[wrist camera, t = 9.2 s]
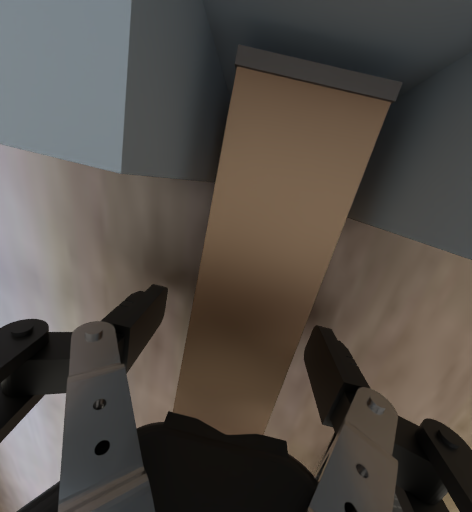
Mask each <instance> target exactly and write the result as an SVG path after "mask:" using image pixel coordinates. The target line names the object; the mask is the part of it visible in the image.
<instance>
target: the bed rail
mask: <svg viewBox="0 0 472 512" xmlns="http://www.w3.org/2000/svg"><path fill="white" fill-rule="evenodd" d="M235 69H236V74H235V80H234V85H233V90H232V96H231V101H230V107H229V112H228V117H227V123H226V128H225V133H224V139H223V144H222V150H221V155H220V160H219V166H218V171H217V177H216V182H215V187H214V193H213V198H212V203H211V209H210V214H209V220H208V225H207V230H206V236H205V241H204V247H203V252H202V257H201V263H200V268H199V273H198V279H197V284H196V290H195V295H194V300H193V306H192V311H191V317H190V322H189V327H188V333H187V338H186V343H185V349H184V354H183V360H182V365H181V370H180V376H179V381H178V386H177V392H176V397H175V403H174V408H173V413H177V414H181V415H185V416H189V417H193V418H197V419H199V420H201V421H203V422H204V423H206V424H208V425H210V426H211V427H213V428H215V429H217V430H218V431H220V432H222V433H224V434H226V435H239V434H260V435H263V434H264V432H265V429H266V426H267V424H268V421H269V419H270V416H271V413H272V411H273V408H274V406H275V403H276V400H277V398H278V395H279V393H280V390H281V387H282V385H283V382H284V380H285V377H286V374H287V372H288V369H289V367H290V364H291V361H292V359H293V356H294V354H295V351H296V348H297V346H298V343H299V341H300V338H301V335H302V333H303V330H304V328H305V325H306V322H307V320H308V317H309V315H310V312H311V309H312V307H313V304H314V302H315V299H316V296H317V294H318V291H319V289H320V286H321V283H322V281H323V278H324V276H325V273H326V271H327V268H328V265H329V263H330V260H331V258H332V255H333V252H334V250H335V247H336V245H337V242H338V239H339V237H340V234H341V232H342V229H343V226H344V224H345V221H346V219H347V216H348V213H349V211H350V208H351V206H352V203H353V200H354V198H355V195H356V193H357V190H358V187H359V185H360V182H361V180H362V177H363V174H364V172H365V169H366V167H367V164H368V161H369V159H370V156H371V154H372V151H373V148H374V146H375V143H376V141H377V138H378V135H379V133H380V130H381V128H382V125H383V122H384V120H385V117H386V115H387V112H388V109H389V107H390V104H392V103H394V102H395V101H396V99H397V96H398V94H399V91H400V89H401V86H402V84H403V82H399V81H395V80H390V79H386V78H382V77H377V76H373V75H369V74H364V73H360V72H356V71H351V70H347V69H343V68H339V67H334V66H330V65H326V64H321V63H317V62H313V61H308V60H304V59H300V58H296V57H291V56H287V55H283V54H278V53H274V52H270V51H265V50H261V49H257V48H252V47H248V46H244V45H240V44H238V49H237V54H236V60H235Z"/></svg>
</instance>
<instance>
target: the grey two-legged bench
mask: <svg viewBox="0 0 472 512" xmlns="http://www.w3.org/2000/svg"><path fill="white" fill-rule="evenodd" d="M238 44H240V45H244V46H248V47H252V48H257V49H261V50H265V51H270V52H274V53H278V54H283V55H287V56H291V57H296V58H300V59H304V60H308V61H313V62H317V63H321V64H326V65H330V66H334V67H339V68H343V69H347V70H351V71H356V72H360V73H364V74H369V75H373V76H377V77H382V78H386V79H390V80H395V81H399V82H403V84H402V86H401V89H400V91H399V94H398V96H397V99H396V101H395V102H394V103H392V104H390V107H389V109H388V112H387V115H386V117H385V120H384V122H383V125H382V128H381V130H380V133H379V135H378V138H377V141H376V143H375V146H374V148H373V151H372V154H371V156H370V159H369V161H368V164H367V167H366V169H365V172H364V174H363V177H362V180H361V182H360V185H359V187H358V190H357V193H356V195H355V198H354V200H353V203H352V206H351V208H350V211H349V213H348V216H347V217H348V218H351V219H354V220H357V221H360V222H362V223H365V224H368V225H371V226H374V227H377V228H380V229H383V230H386V231H389V232H392V233H395V234H398V235H401V236H403V237H406V238H409V239H412V240H415V241H418V242H421V243H424V244H427V245H430V246H433V247H436V248H439V249H441V250H444V251H447V252H450V253H453V254H456V255H459V256H462V257H465V258H468V259H471V260H472V0H0V144H2V145H6V146H10V147H14V148H18V149H22V150H27V151H31V152H35V153H39V154H43V155H47V156H51V157H55V158H59V159H63V160H67V161H71V162H75V163H79V164H83V165H87V166H92V167H96V168H100V169H104V170H108V171H112V172H116V173H120V174H130V175H141V176H152V177H163V178H174V179H185V180H196V181H208V182H215V178H216V172H217V167H218V162H219V157H220V152H221V146H222V141H223V136H224V131H225V125H226V120H227V115H228V110H229V104H230V99H231V96H232V90H233V85H234V80H235V74H236V69H235V60H236V54H237V49H238Z"/></svg>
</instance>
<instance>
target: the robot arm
mask: <svg viewBox="0 0 472 512" xmlns="http://www.w3.org/2000/svg"><path fill="white" fill-rule="evenodd" d="M167 292H168V289H167V287H163V286H159V285H155V284H153V285H151V286H150V287H149V288H148V289H147V290H146V291H145V292H143V291H138V292H136V293H133V294H131V295H130V296H129V297H128V298H126V299H125V301H123V302H122V303H121V304H120V305H119V306H117V307H116V308H115V309H114V310H113V311H112V312H110V313H109V314H108V315H107V316H106V317H105V318H104V319H102V320H101V321H95V322H89V323H86V324H83V325H81V326H79V327H78V328H76V329H75V330H74V331H73V332H49V326H48V324H47V323H46V322H45V321H43V320H39V319H25V320H20V321H16V322H12V323H10V324H7V325H5V326H3V327H2V328H0V443H1V442H2V440H3V439H4V438H5V437H6V436H7V435H8V434H9V433H10V432H11V431H12V430H13V429H14V427H15V426H16V425H17V424H18V423H19V422H20V421H21V420H22V419H23V418H24V417H25V416H26V415H27V413H28V412H29V411H30V410H31V409H32V408H33V407H34V406H35V405H36V404H37V403H38V402H39V400H40V399H41V398H42V397H43V396H44V395H45V394H59V393H66V404H65V418H64V432H63V447H62V461H61V475H60V481H59V482H58V483H56V484H55V485H53V486H52V487H51V488H49V489H48V490H46V491H45V492H43V493H42V494H41V495H39V496H38V497H36V498H35V499H34V500H32V501H31V502H29V503H28V504H26V505H25V506H24V507H22V508H21V509H19V510H18V511H17V512H392V511H393V503H394V495H395V494H396V496H397V498H398V501H399V503H400V506H401V508H402V510H403V512H449V510H448V509H447V507H446V505H445V503H444V501H443V500H442V498H443V497H444V496H445V495H446V494H447V493H448V492H449V494H450V496H451V498H452V499H453V501H454V503H455V504H456V506H457V508H458V509H459V511H460V512H472V450H471V449H470V447H469V446H468V445H467V444H466V442H465V441H464V440H463V439H462V438H461V437H460V436H459V435H458V434H456V433H455V432H454V431H453V430H451V429H450V428H449V427H447V426H446V425H444V424H442V423H440V422H438V421H436V420H433V419H424V420H423V422H422V423H421V425H420V426H418V425H416V424H414V423H412V422H410V421H408V420H406V419H404V418H402V417H400V416H398V414H397V412H396V410H395V408H394V407H393V405H392V404H391V403H390V402H389V401H388V400H387V399H386V398H385V397H384V396H382V395H381V394H380V393H378V392H376V391H375V390H372V389H370V387H369V385H368V383H367V382H366V380H365V378H364V376H363V375H362V373H361V371H360V369H359V367H358V366H357V364H356V362H355V360H354V359H353V357H352V355H351V353H350V352H349V350H348V349H347V348H346V347H345V346H344V345H343V344H342V343H341V341H338V340H337V338H336V336H335V335H334V333H333V331H332V329H330V328H326V327H322V326H318V325H316V326H315V327H314V328H313V331H312V333H311V336H310V338H309V341H308V343H307V345H306V348H305V351H304V362H305V365H306V369H307V372H308V376H309V379H310V383H311V386H312V390H313V394H314V397H315V401H316V404H317V408H318V411H319V415H320V418H321V422H322V425H326V426H330V427H333V428H334V431H335V433H334V434H333V436H332V438H331V440H330V443H329V445H328V447H327V449H326V451H325V453H324V456H323V458H322V460H321V462H320V464H319V466H318V469H317V471H316V473H315V475H314V476H313V475H312V474H311V472H310V471H309V470H308V469H307V468H306V467H305V466H304V465H302V464H301V463H300V462H299V461H298V460H296V459H295V458H294V457H292V456H291V455H289V454H288V451H287V442H286V441H284V440H280V439H276V438H272V437H268V436H264V435H260V434H239V435H226V434H224V433H222V432H220V431H218V430H217V429H215V428H213V427H211V426H210V425H208V424H206V423H204V422H203V421H201V420H199V419H197V418H193V417H189V416H185V415H181V414H177V413H173V412H169V411H168V414H167V416H166V419H165V422H157V423H151V424H148V425H144V426H142V427H139V428H137V429H136V424H135V419H134V413H133V408H132V402H131V397H130V391H129V386H128V381H127V375H126V374H127V372H128V371H129V369H130V368H131V366H132V365H133V363H134V362H135V360H136V359H137V358H138V356H139V355H140V353H141V352H142V350H143V349H144V347H145V346H146V344H147V343H148V341H149V340H150V339H151V337H152V336H153V334H154V333H155V331H156V330H157V328H158V327H159V325H160V324H161V322H162V319H163V317H164V312H165V306H166V299H167Z"/></svg>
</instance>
